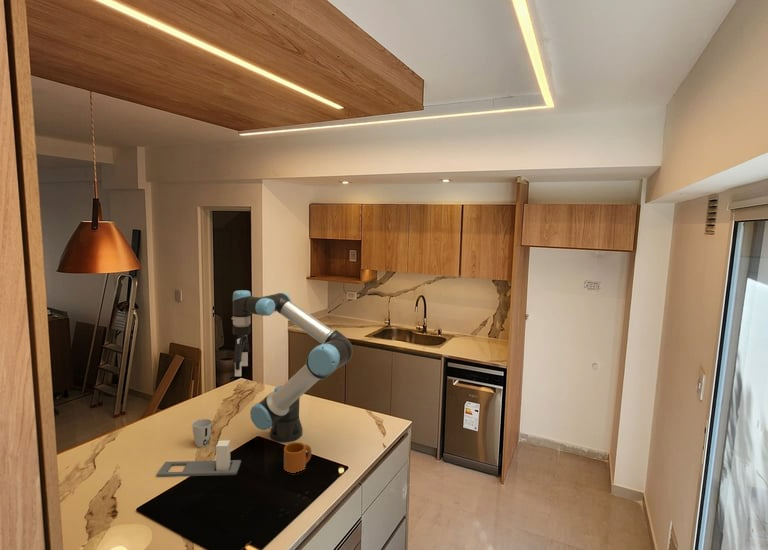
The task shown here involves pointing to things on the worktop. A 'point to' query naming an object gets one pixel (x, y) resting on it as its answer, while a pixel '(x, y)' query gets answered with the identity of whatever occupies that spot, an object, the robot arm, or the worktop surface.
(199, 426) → the cup
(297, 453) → the mug
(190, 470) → the socket strip
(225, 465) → the plug
